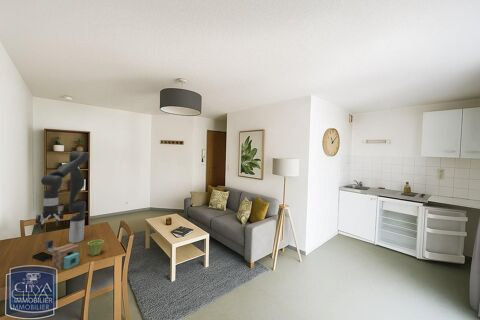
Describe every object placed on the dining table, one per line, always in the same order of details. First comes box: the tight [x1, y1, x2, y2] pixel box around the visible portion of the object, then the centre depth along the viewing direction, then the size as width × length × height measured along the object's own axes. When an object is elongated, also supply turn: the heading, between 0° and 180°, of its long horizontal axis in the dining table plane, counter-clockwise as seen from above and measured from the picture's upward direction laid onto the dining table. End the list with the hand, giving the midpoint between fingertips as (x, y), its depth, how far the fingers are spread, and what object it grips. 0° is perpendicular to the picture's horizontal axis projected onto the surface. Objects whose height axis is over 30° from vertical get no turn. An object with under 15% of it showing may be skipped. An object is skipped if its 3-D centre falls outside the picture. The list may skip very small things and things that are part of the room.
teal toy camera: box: [63, 252, 80, 270], centre depth 126 cm, size 3×7×7 cm, turn 161°
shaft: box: [44, 239, 69, 255], centre depth 131 cm, size 21×3×6 cm, turn 71°
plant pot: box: [87, 239, 104, 257], centre depth 143 cm, size 9×9×9 cm
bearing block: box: [51, 242, 80, 270], centre depth 128 cm, size 8×10×11 cm
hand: (49, 227), depth 134 cm, fingers open, 8 cm apart
